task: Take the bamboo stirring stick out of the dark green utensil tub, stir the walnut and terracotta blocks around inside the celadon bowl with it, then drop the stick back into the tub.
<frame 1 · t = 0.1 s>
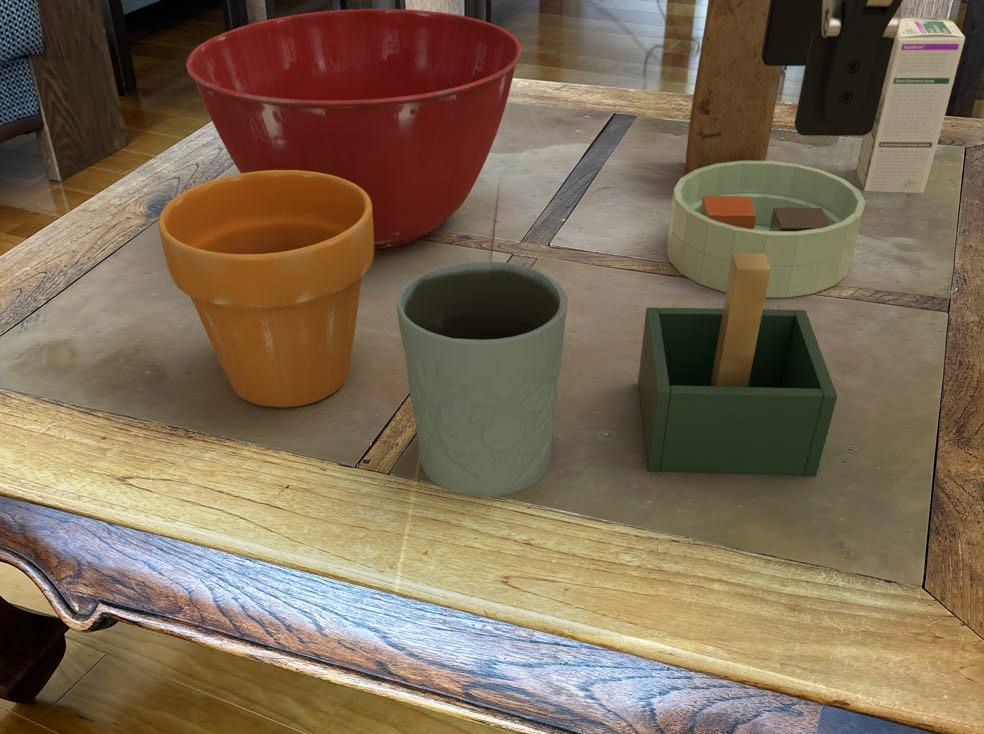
hand: (810, 95, 48), 24 cm above the table, tool pointing down, fingers open, 9 cm apart
stirring stick: (721, 426, 69), point 1 cm above the table, touching utensil tub
terracotta block: (722, 249, 89), point 1 cm above the table, touching bowl
grey green cup: (482, 464, 68), on the table
bowl: (755, 262, 89), on the table
utensil tub: (720, 433, 70), on the table
block: (720, 187, 102), on the table
flower pot: (290, 378, 77), on the table
walnut block: (792, 262, 87), point 1 cm above the table, touching bowl
mixing bowl: (369, 221, 98), on the table
syrup box: (886, 188, 100), on the table
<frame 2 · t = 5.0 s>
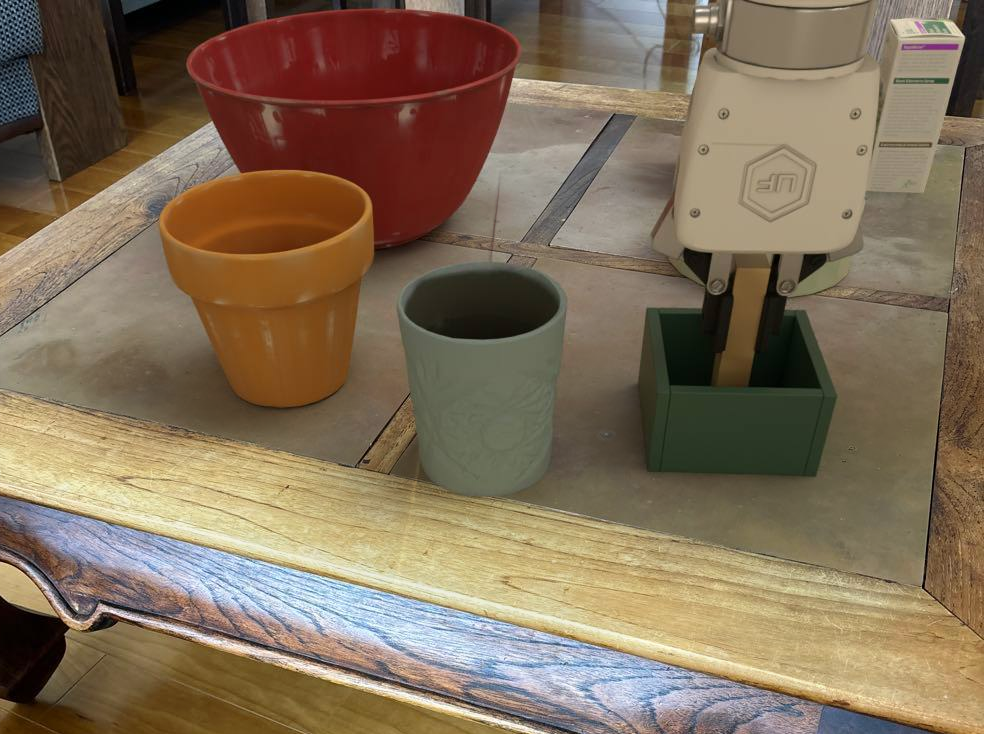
hand: (737, 340, 65), 7 cm above the table, tool pointing down, fingers closed on stirring stick, 2 cm apart
stirring stick: (721, 426, 69), point 1 cm above the table, touching gripper, utensil tub
everything else where it was.
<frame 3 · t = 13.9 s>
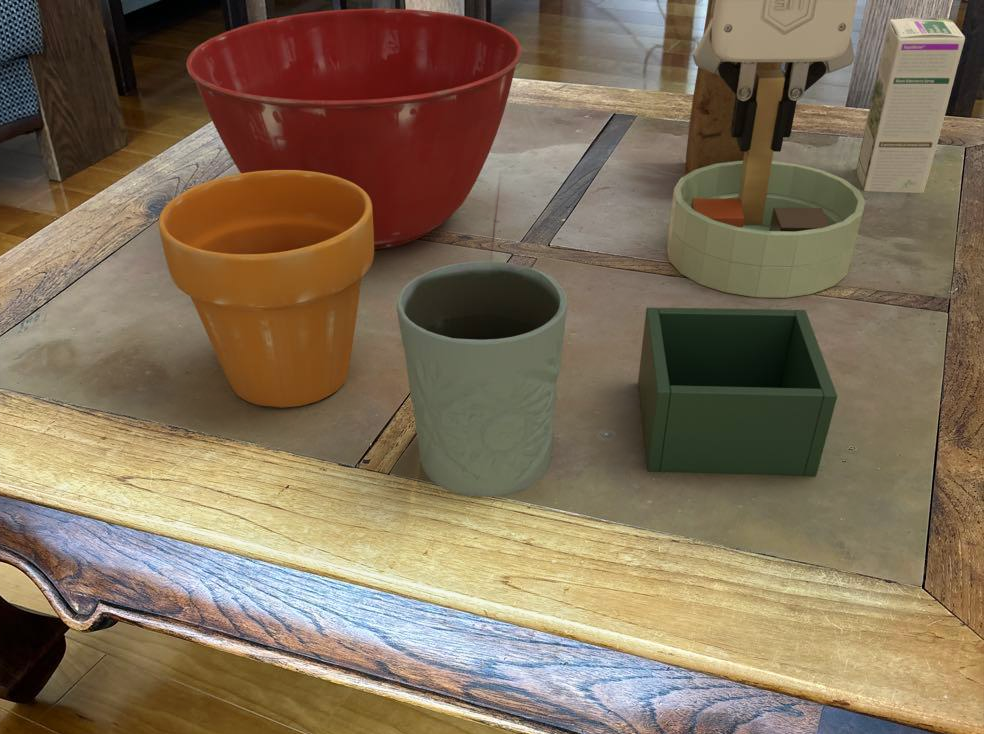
hand: (758, 144, 84), 9 cm above the table, tool pointing down, fingers closed on stirring stick, 2 cm apart
stirring stick: (748, 219, 88), point 3 cm above the table, touching gripper, terracotta block
terracotta block: (711, 251, 89), point 1 cm above the table, touching bowl, stirring stick
everything else where it was.
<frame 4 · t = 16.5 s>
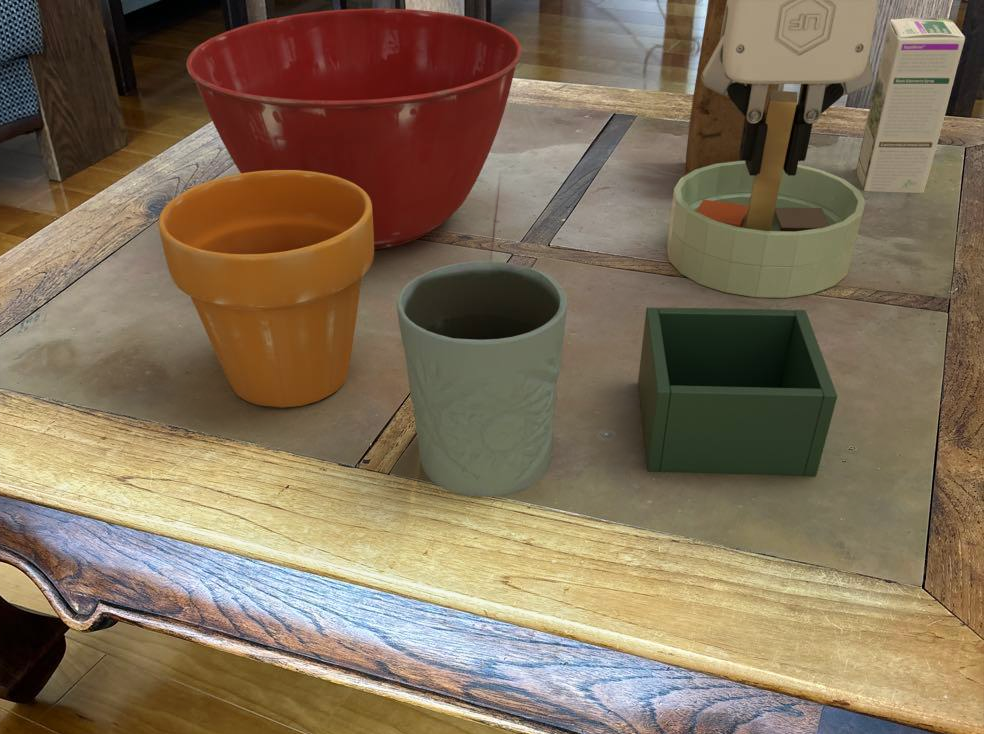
hand: (770, 167, 81), 9 cm above the table, tool pointing down, fingers closed on stirring stick, 2 cm apart
stirring stick: (755, 240, 86), point 3 cm above the table, touching gripper
terracotta block: (714, 255, 88), point 1 cm above the table, touching bowl
everything else where it was.
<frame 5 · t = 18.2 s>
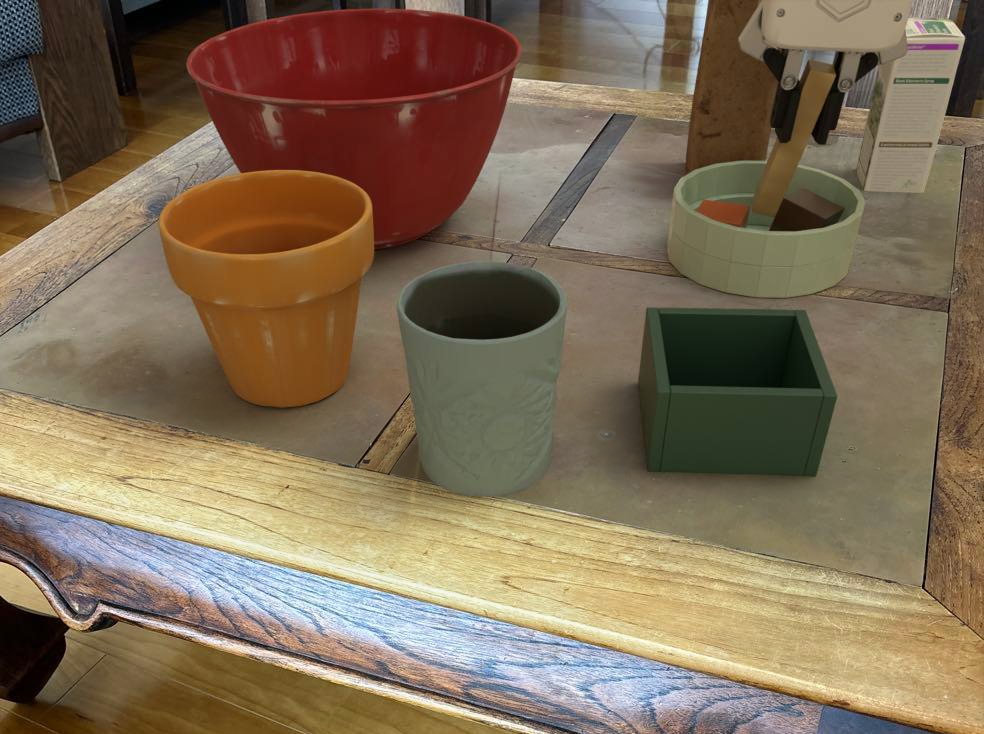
hand: (799, 136, 81), 11 cm above the table, tool pointing down, fingers closed on stirring stick, 2 cm apart
stirring stick: (763, 209, 86), point 4 cm above the table, tilted 12°, touching gripper, walnut block
walnut block: (793, 246, 88), point 1 cm above the table, tilted 14°, touching bowl, stirring stick
everything else where it was.
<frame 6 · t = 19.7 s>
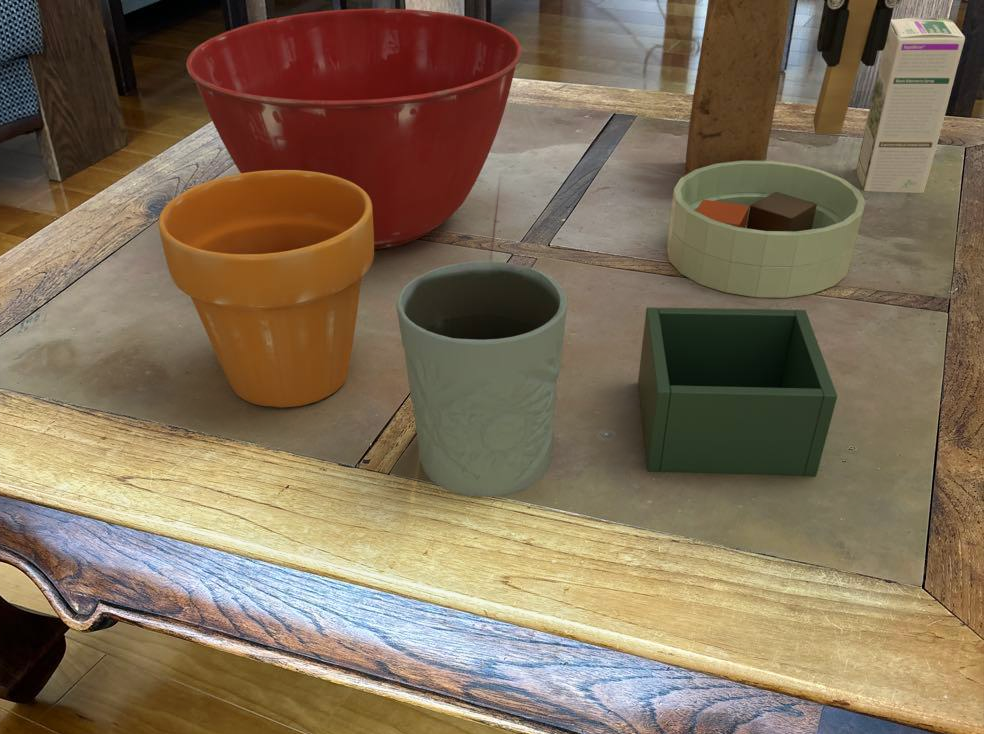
hand: (847, 59, 78), 16 cm above the table, tool pointing down, fingers closed on stirring stick
stirring stick: (826, 127, 84), point 10 cm above the table, tilted 13°, touching gripper
walnut block: (775, 248, 89), point 1 cm above the table, touching bowl
everything else where it was.
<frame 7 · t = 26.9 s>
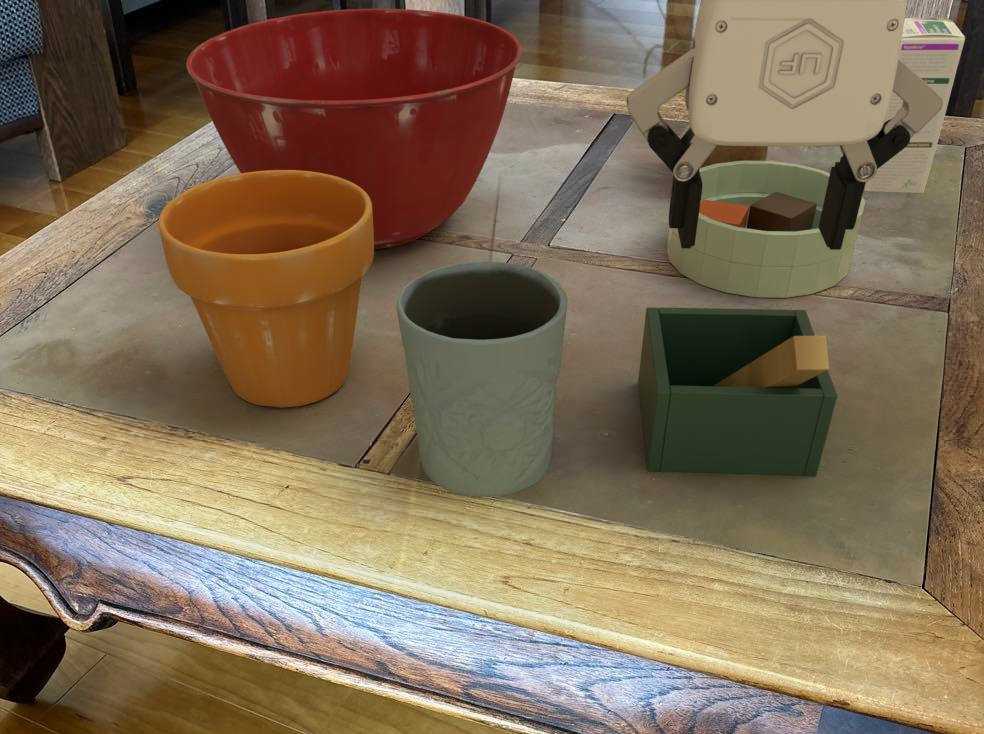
hand: (757, 237, 60), 14 cm above the table, tool pointing down, fingers open, 7 cm apart
stirring stick: (724, 401, 70), point 1 cm above the table, tilted 44°, touching utensil tub
everything else where it was.
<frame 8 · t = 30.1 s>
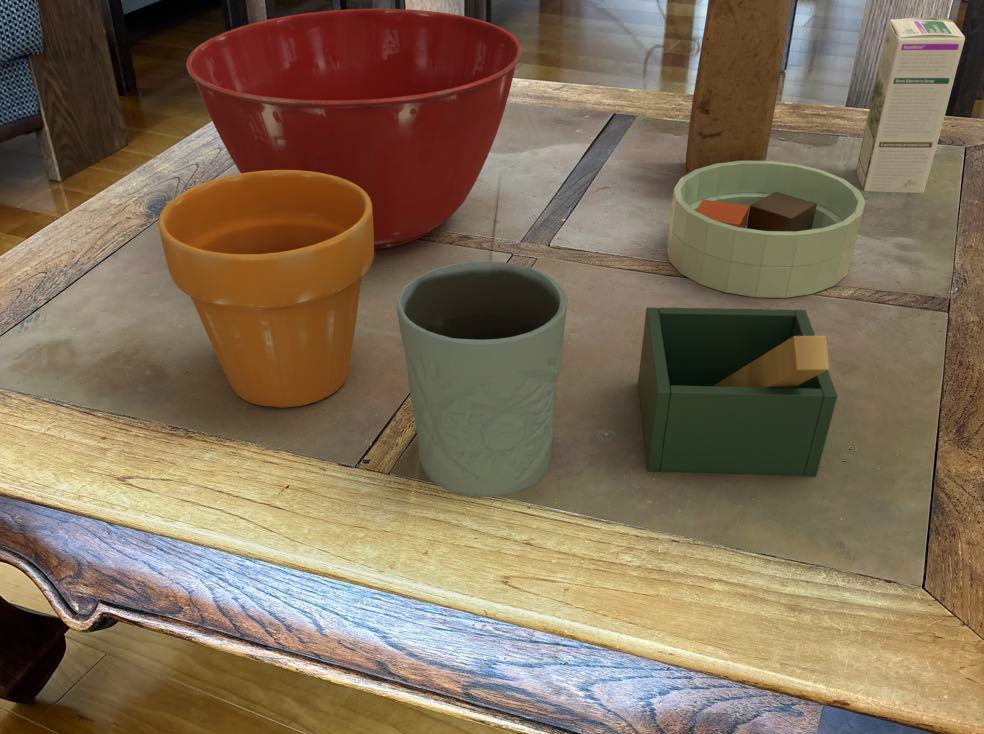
nothing on the table moved.
at the end: terracotta block moved 1.5 cm from its start; terracotta block inside the target area in the bowl (3.6 cm from its centre), point 0.6 cm above the bowl's base; stirring stick inside the target area in the utensil tub (1.8 cm from its centre), point 1.4 cm above the utensil tub's base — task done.
